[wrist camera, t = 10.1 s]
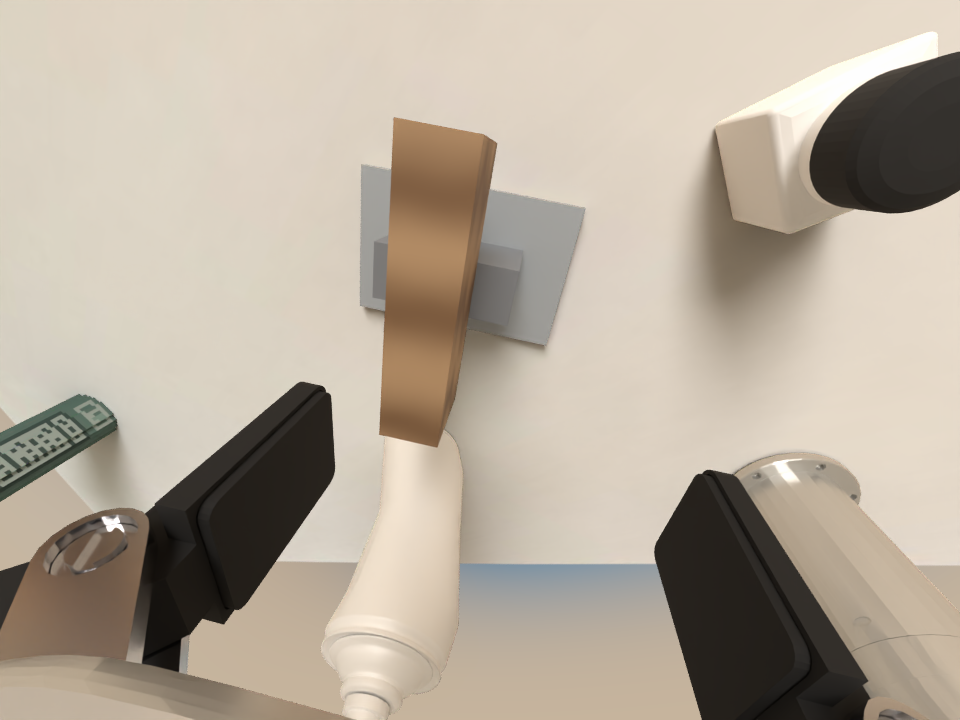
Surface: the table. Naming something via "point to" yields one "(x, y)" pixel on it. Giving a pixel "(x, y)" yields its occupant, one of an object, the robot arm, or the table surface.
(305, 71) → the table surface
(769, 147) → the medicine bottle
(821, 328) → the table surface
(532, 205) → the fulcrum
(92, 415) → the can
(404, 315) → the walnut bar
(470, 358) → the table surface
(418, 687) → the spray can
